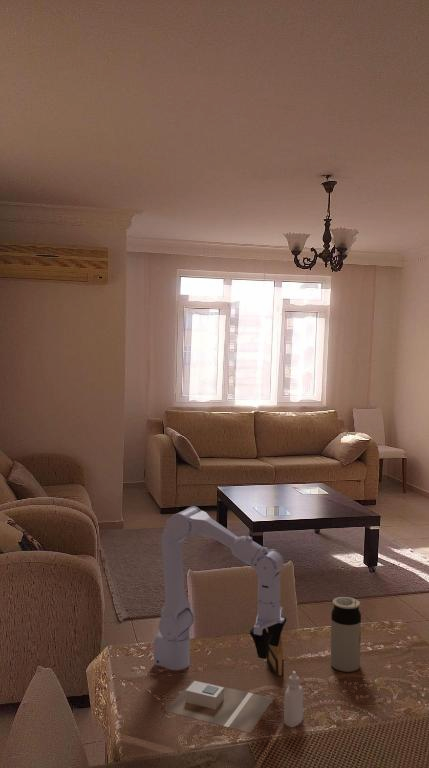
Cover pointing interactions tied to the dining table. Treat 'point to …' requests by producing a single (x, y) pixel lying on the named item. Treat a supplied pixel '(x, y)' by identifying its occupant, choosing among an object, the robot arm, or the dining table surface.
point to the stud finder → (204, 695)
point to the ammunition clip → (276, 658)
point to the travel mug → (345, 634)
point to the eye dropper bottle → (293, 702)
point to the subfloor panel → (225, 709)
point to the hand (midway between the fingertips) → (268, 651)
